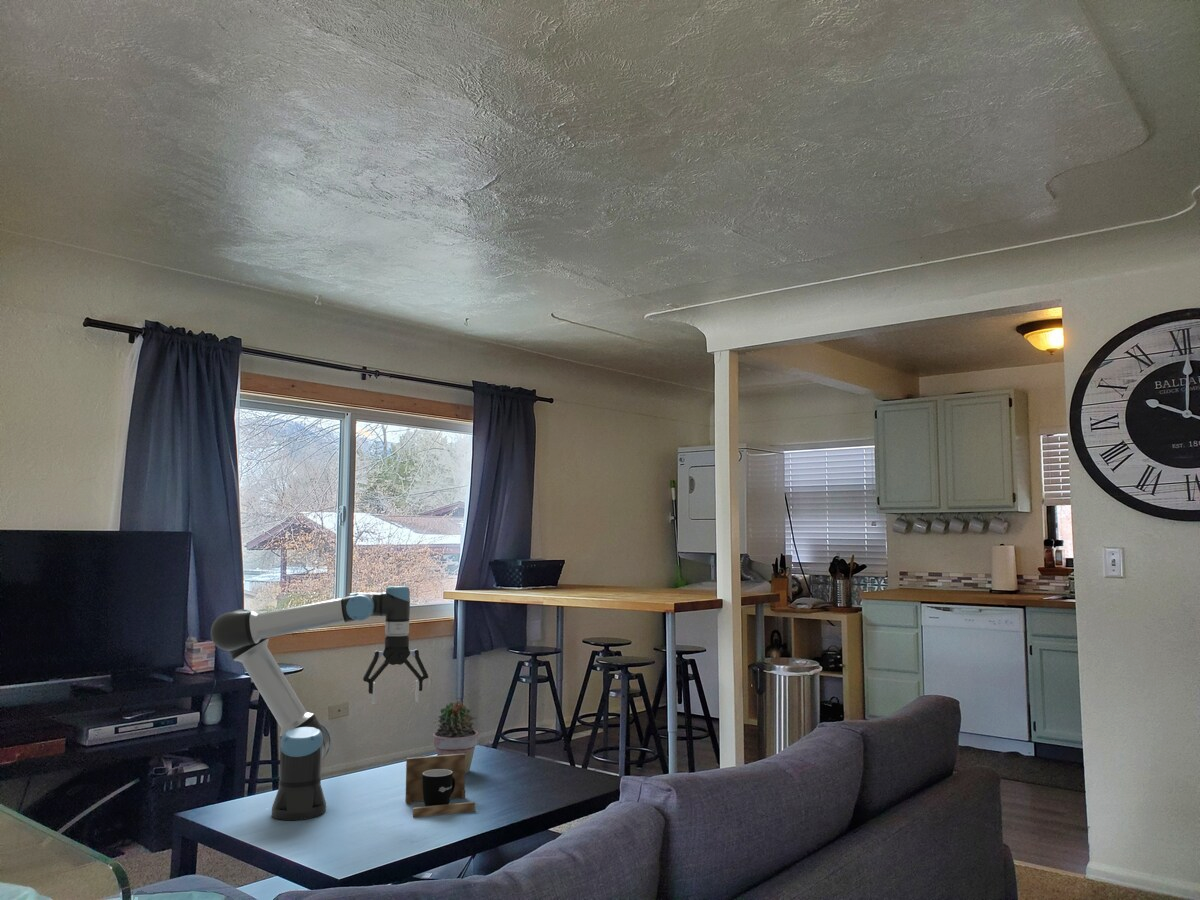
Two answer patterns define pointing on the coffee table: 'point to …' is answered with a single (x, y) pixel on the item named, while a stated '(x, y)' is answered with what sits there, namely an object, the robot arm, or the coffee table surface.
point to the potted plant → (456, 733)
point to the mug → (437, 786)
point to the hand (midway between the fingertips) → (395, 703)
